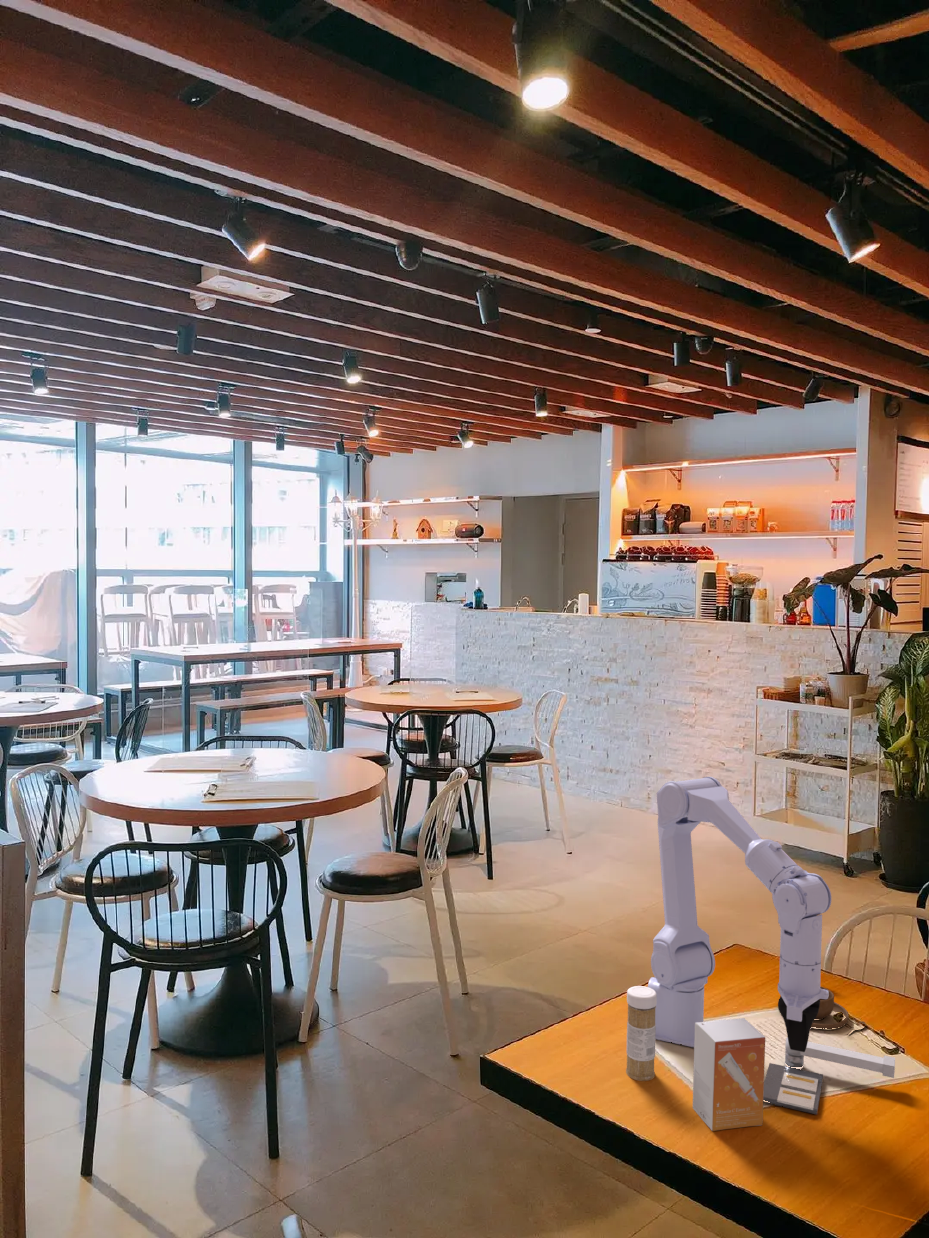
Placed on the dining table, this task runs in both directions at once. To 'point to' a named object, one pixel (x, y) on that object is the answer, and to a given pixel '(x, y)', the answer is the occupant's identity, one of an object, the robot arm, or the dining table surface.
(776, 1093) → the grey flat block
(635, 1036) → the sprinkles bottle
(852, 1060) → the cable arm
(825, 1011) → the place setting
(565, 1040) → the dining table surface
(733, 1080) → the small box
